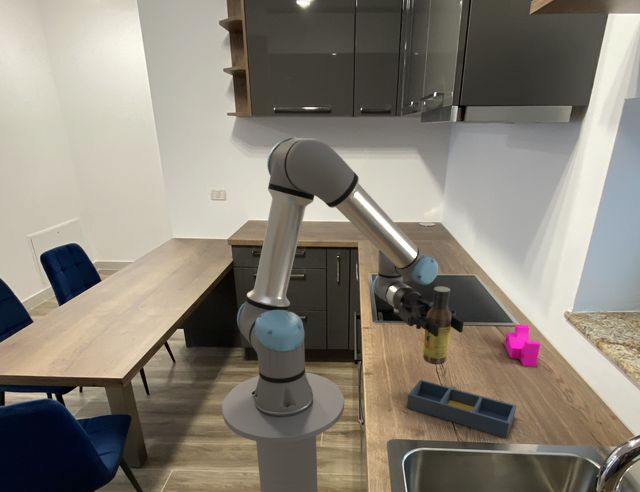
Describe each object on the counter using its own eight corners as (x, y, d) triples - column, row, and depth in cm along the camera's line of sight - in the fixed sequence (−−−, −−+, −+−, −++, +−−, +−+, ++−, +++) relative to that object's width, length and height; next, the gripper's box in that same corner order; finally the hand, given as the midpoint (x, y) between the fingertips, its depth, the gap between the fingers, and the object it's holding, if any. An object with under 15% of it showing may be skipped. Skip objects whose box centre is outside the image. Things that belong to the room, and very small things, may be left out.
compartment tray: (407, 407, 116) (408, 394, 114) (419, 392, 123) (420, 379, 121) (506, 438, 104) (509, 423, 102) (513, 419, 111) (516, 405, 109)
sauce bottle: (423, 353, 120) (430, 283, 112) (447, 356, 119) (455, 285, 111) (421, 364, 114) (428, 290, 106) (446, 367, 113) (455, 293, 105)
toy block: (504, 344, 151) (507, 324, 148) (523, 345, 150) (527, 325, 147) (514, 365, 137) (518, 343, 134) (535, 366, 136) (540, 344, 133)
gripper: (432, 307, 132) (480, 337, 112) (373, 315, 126) (413, 349, 106) (434, 283, 129) (484, 309, 109) (374, 290, 123) (415, 320, 103)
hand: (449, 329), depth 108 cm, fingers closed on sauce bottle, 6 cm apart
